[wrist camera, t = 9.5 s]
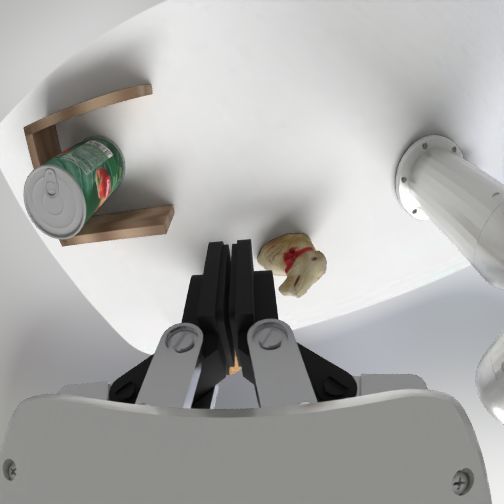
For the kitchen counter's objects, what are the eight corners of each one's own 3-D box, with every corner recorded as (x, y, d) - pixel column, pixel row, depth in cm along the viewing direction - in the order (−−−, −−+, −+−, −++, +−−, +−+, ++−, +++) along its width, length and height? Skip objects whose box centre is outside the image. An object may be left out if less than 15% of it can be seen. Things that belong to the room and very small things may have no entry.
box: (151, 84, 25) (135, 85, 21) (174, 213, 35) (165, 234, 31) (46, 118, 25) (23, 127, 21) (77, 226, 35) (62, 246, 31)
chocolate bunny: (311, 264, 40) (327, 315, 32) (256, 264, 40) (261, 317, 32) (317, 231, 37) (338, 280, 29) (258, 230, 37) (265, 280, 29)
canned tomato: (124, 197, 33) (88, 245, 24) (73, 191, 32) (29, 234, 23) (127, 137, 29) (83, 167, 20) (72, 134, 27) (19, 163, 18)
